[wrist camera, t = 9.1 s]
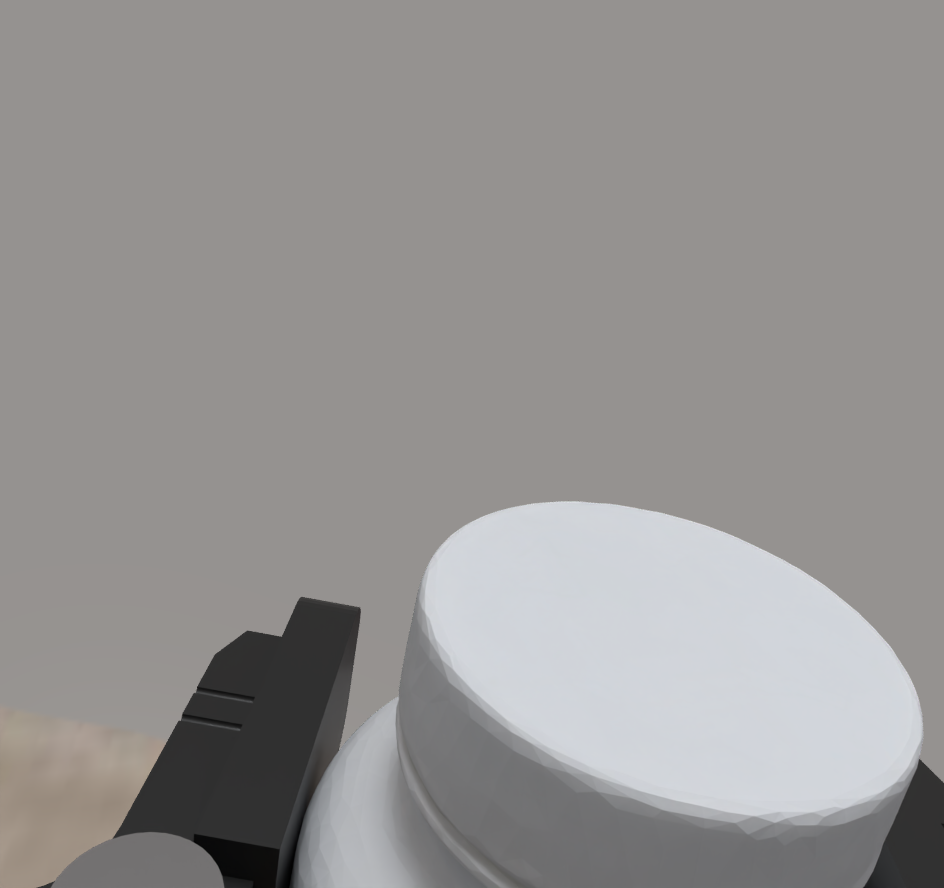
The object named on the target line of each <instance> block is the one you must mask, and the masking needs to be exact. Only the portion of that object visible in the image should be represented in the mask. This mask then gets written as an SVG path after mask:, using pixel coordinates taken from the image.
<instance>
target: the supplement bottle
mask: <svg viewBox="0 0 944 888" xmlns="http://www.w3.org/2000/svg"><path fill="white" fill-rule="evenodd" d="M922 742H923V720H922V712H921V708H920V703H919V699H918V696H917V693H916V691H915V688H914V686H913V683H912V681H911V679H910V677H909V675H908V673H907V672H906V670H905V669H904V667H903V665H902V664H901V662H900V661H899V659H898V658H897V656H896V655H895V653H894V651H893V650H892V648H891V647H890V646H889V645H888V643H887V642H885V640H884V639H883V638H882V637H881V636H880V634H879V633H878V632H877V631H876V630H875V629H874V628H873V627H872V626H871V625H870V624H869V623H868V622H867V621H866V620H865V619H864V618H863V617H862V616H861V615H860V614H859V613H858V612H857V611H856V610H855V609H853V608H852V607H851V606H850V605H848V604H847V603H846V602H845V601H843V600H842V599H841V598H840V597H838V596H837V595H836V594H835V593H833V592H832V591H831V590H830V589H829V588H827V587H826V586H825V585H823V584H822V583H820V582H818V581H817V580H816V579H814V578H812V577H811V576H809V575H808V574H806V573H805V572H803V571H802V570H800V569H798V568H797V567H795V566H793V565H791V564H789V563H788V562H786V561H784V560H782V559H780V558H778V557H776V556H774V555H772V554H770V553H768V552H766V551H764V550H762V549H760V548H758V547H756V546H754V545H752V544H750V543H747V542H745V541H743V540H741V539H739V538H737V537H735V536H732V535H729V534H727V533H724V532H722V531H719V530H716V529H714V528H711V527H708V526H705V525H702V524H699V523H696V522H693V521H689V520H686V519H682V518H677V517H674V516H670V515H666V514H664V513H660V512H654V511H648V510H643V509H638V508H632V507H627V506H621V505H615V504H602V503H589V502H572V501H570V502H549V503H535V504H529V505H523V506H518V507H512V508H509V509H504V510H500V511H496V512H494V513H491V514H488V515H486V516H483V517H481V518H479V519H477V520H475V521H473V522H471V523H469V524H467V525H465V526H463V527H462V528H460V529H459V530H458V531H456V532H455V533H453V534H452V535H451V536H450V537H449V538H448V539H447V540H446V541H445V542H444V543H443V544H442V545H441V546H440V547H439V548H438V550H437V551H436V552H435V554H434V555H433V556H432V558H431V560H430V562H429V563H428V565H427V568H426V570H425V573H424V575H423V577H422V580H421V583H420V586H419V590H418V594H417V598H416V603H415V609H414V613H413V619H412V623H411V628H410V632H409V637H408V641H407V647H406V652H405V658H404V663H403V668H402V674H401V680H400V687H399V696H398V697H397V698H395V699H393V700H392V701H390V702H389V703H387V704H386V705H385V706H383V707H382V708H381V709H380V710H378V711H377V712H375V713H374V714H373V715H372V716H371V717H370V718H368V719H367V720H366V721H365V722H364V723H363V724H362V725H361V726H360V727H359V728H358V729H357V730H356V731H355V732H354V733H353V734H352V736H351V737H350V738H349V739H348V740H347V741H346V742H345V744H344V745H343V746H342V747H341V749H340V750H339V751H338V753H337V754H336V755H335V757H334V758H333V760H332V761H331V763H330V764H329V766H328V767H327V769H326V770H325V772H324V774H323V776H322V778H321V780H320V782H319V784H318V786H317V788H316V789H315V792H314V794H313V796H312V798H311V800H310V803H309V805H308V807H307V810H306V813H305V815H304V819H303V823H302V827H301V831H300V835H299V839H298V843H297V847H296V852H295V857H294V863H293V869H292V874H291V879H290V886H289V888H863V887H864V886H865V884H866V883H867V881H868V879H869V878H870V876H871V874H872V872H873V870H874V868H875V865H876V863H877V860H878V858H879V855H880V852H881V849H882V846H883V843H884V841H885V839H886V837H887V835H888V833H889V830H890V828H891V826H892V824H893V822H894V820H895V817H896V815H897V813H898V810H899V808H900V806H901V803H902V801H903V799H904V796H905V794H906V792H907V789H908V787H909V785H910V783H911V780H912V778H913V776H914V774H915V771H916V769H917V766H918V762H919V757H920V753H921V748H922Z"/></svg>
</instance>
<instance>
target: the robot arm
mask: <svg viewBox="0 0 944 888" xmlns="http://www.w3.org/2000/svg"><path fill="white" fill-rule="evenodd" d="M360 613H361V609H360V608H359V607H354V606H349V605H343V604H338V603H332V602H327V601H321V600H316V599H311V598H305V597H301V598H300V599H299V601H298V602H297V604H296V606H295V609H294V611H293V613H292V615H291V618H290V620H289V622H288V624H287V627H286V629H285V631H284V633H283V635H282V637H279V636H274V635H269V634H263V633H258V632H252V631H246V632H245V633H243V634H242V635H241V636H240V637H238V638H237V639H235V640H234V641H233V642H231V643H230V644H229V645H227V646H226V647H225V648H223V649H222V650H221V651H219V652H218V653H216V654H215V656H214V657H213V659H212V661H211V663H210V665H209V666H208V668H207V670H206V672H205V674H204V676H203V677H202V679H201V681H200V683H199V685H198V686H197V691H196V693H194V694H193V696H192V698H191V699H190V701H189V703H188V705H187V707H186V708H185V710H184V712H183V714H182V719H181V721H178V723H177V725H176V727H175V729H174V730H173V732H172V734H171V736H170V737H169V739H168V741H167V743H166V745H165V747H164V748H163V750H162V752H161V754H160V756H159V757H158V759H157V761H156V763H155V765H154V767H153V768H152V770H151V772H150V774H149V776H148V778H147V779H146V781H145V783H144V785H143V787H142V788H141V790H140V792H139V794H138V796H137V798H136V799H135V801H134V803H133V805H132V807H131V809H130V810H129V812H128V814H127V816H126V818H125V819H124V821H123V823H122V825H121V827H120V828H119V830H118V831H117V833H116V834H115V836H114V837H113V839H111V840H108V841H106V842H103V843H101V844H99V845H97V846H95V847H93V848H91V849H90V850H88V851H87V852H85V853H84V854H82V855H80V856H79V857H78V858H77V859H75V860H74V861H73V862H72V863H71V864H70V865H68V866H67V867H66V868H65V870H64V871H63V872H62V873H61V874H60V875H59V876H58V877H57V879H56V880H55V881H54V882H52V883H49V884H47V885H44V886H41V887H38V888H289V886H290V879H291V874H292V869H293V863H294V857H295V852H296V847H297V843H298V839H299V835H300V831H301V827H302V823H303V819H304V815H305V813H306V810H307V807H308V805H309V803H310V800H311V798H312V796H313V794H314V792H315V789H316V788H317V786H318V784H319V782H320V780H321V778H322V776H323V774H324V772H325V770H326V769H327V767H328V766H329V764H330V763H331V761H332V760H333V758H334V757H335V755H336V754H337V753H338V751H339V747H340V742H341V738H342V733H343V728H344V723H345V718H346V712H347V706H348V699H349V692H350V685H351V678H352V672H353V665H354V656H355V651H356V644H357V637H358V630H359V623H360ZM863 888H944V783H943V782H942V781H941V780H940V779H939V778H938V777H937V776H936V775H935V774H934V773H933V772H932V771H931V770H930V769H929V768H928V767H927V766H926V765H925V764H924V763H923V762H922V761H921V760H920V759H919V762H918V766H917V769H916V771H915V774H914V776H913V778H912V780H911V783H910V785H909V787H908V789H907V792H906V794H905V796H904V799H903V801H902V803H901V806H900V808H899V810H898V813H897V815H896V817H895V820H894V822H893V824H892V826H891V828H890V830H889V833H888V835H887V837H886V839H885V841H884V843H883V846H882V849H881V852H880V855H879V858H878V860H877V863H876V865H875V868H874V870H873V872H872V874H871V876H870V878H869V879H868V881H867V883H866V884H865V886H864V887H863Z"/></svg>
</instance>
